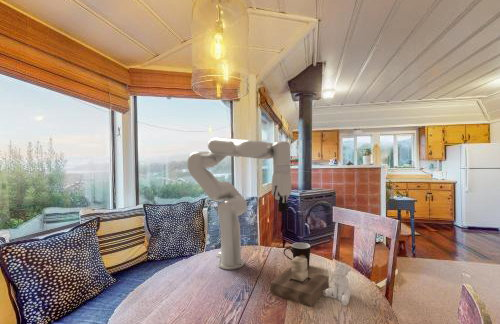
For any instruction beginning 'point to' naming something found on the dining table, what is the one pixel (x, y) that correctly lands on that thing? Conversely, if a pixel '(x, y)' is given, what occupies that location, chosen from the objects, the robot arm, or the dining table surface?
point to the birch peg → (299, 270)
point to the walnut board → (300, 287)
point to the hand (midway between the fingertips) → (282, 211)
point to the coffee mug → (300, 251)
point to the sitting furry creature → (340, 285)
